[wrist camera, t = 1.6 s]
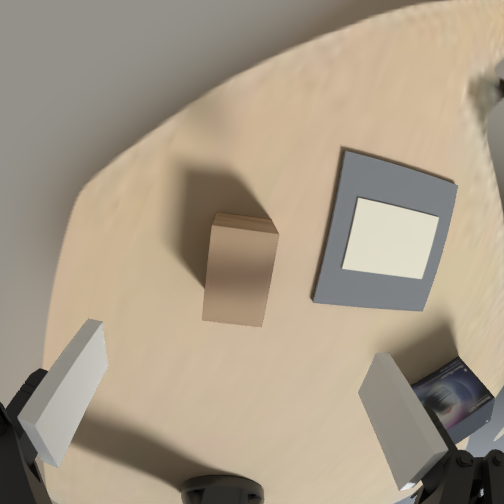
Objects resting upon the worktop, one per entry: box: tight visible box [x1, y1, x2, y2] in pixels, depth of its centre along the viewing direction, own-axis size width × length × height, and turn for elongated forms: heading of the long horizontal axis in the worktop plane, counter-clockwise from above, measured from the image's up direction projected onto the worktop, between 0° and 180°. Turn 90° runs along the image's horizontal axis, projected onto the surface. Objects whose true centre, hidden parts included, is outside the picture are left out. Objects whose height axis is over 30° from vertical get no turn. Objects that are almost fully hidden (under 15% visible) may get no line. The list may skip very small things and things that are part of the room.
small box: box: [411, 357, 495, 444], centre depth 31 cm, size 11×6×10 cm, turn 116°
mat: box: [312, 151, 458, 311], centre depth 28 cm, size 15×14×1 cm
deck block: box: [202, 212, 279, 327], centre depth 26 cm, size 8×5×6 cm, turn 171°
